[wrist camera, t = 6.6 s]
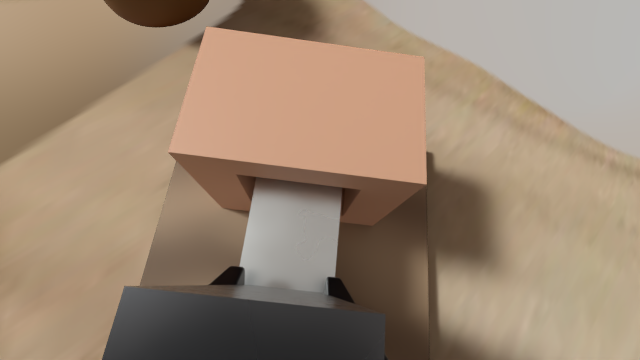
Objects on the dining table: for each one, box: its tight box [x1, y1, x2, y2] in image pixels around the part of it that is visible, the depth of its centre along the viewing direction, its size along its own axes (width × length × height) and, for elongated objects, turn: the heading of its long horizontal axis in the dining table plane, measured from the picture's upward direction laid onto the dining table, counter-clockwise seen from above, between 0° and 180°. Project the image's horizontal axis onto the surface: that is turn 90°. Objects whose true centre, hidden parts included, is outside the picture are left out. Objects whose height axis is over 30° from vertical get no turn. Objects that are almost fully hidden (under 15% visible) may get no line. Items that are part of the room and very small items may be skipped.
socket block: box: [168, 26, 427, 226], centre depth 13 cm, size 5×8×7 cm, turn 84°
